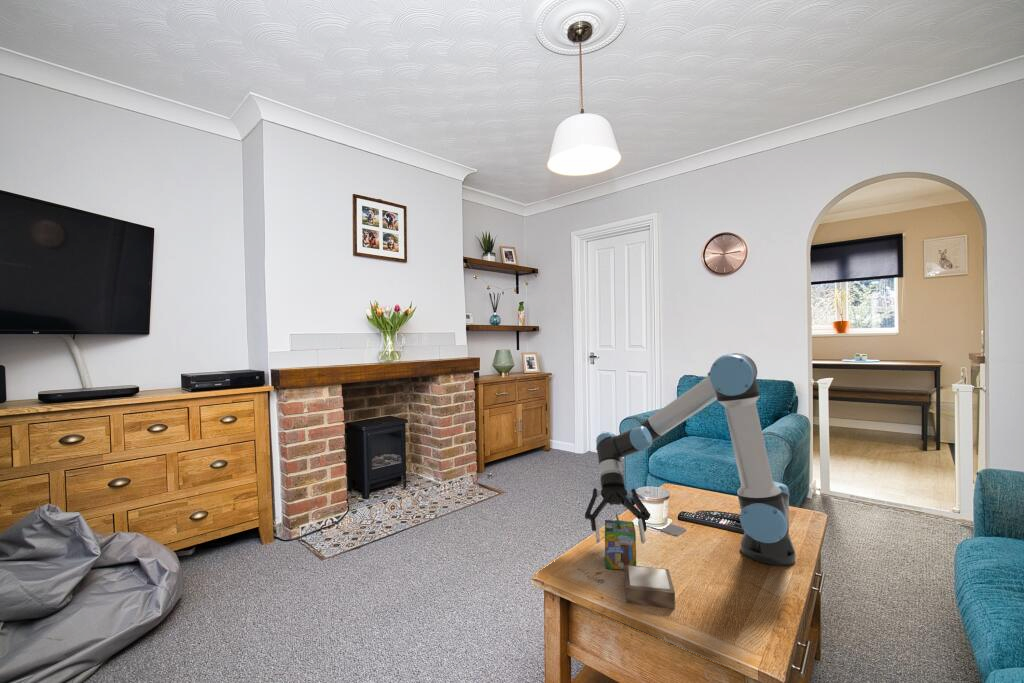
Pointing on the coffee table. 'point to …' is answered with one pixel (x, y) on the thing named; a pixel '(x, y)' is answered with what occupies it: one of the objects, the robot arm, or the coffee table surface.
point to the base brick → (649, 586)
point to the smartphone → (673, 529)
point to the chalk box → (619, 544)
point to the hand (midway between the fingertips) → (620, 541)
